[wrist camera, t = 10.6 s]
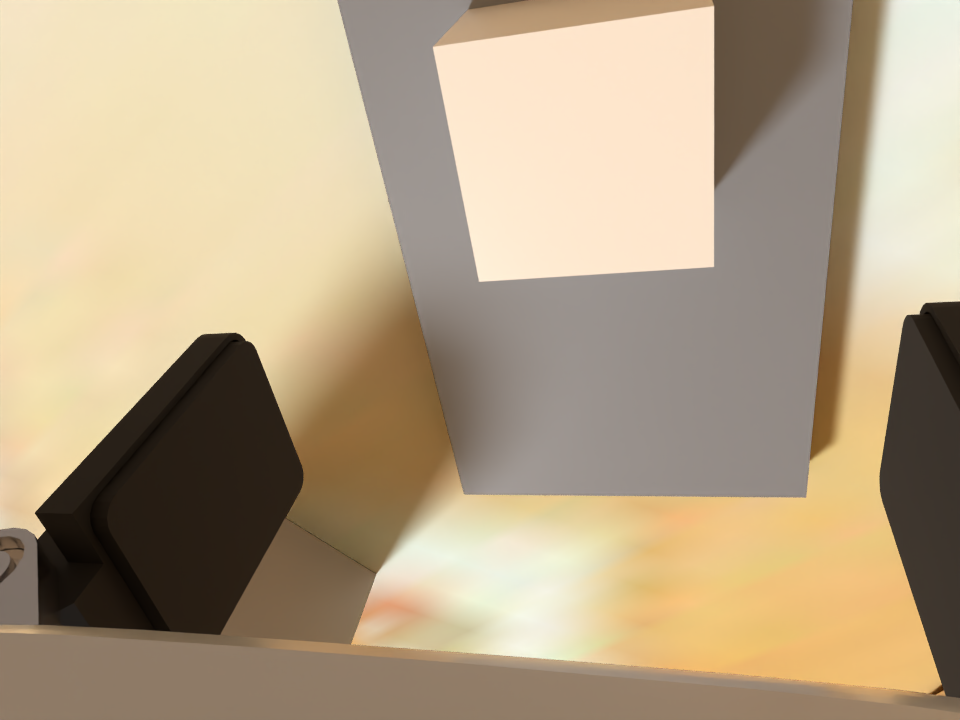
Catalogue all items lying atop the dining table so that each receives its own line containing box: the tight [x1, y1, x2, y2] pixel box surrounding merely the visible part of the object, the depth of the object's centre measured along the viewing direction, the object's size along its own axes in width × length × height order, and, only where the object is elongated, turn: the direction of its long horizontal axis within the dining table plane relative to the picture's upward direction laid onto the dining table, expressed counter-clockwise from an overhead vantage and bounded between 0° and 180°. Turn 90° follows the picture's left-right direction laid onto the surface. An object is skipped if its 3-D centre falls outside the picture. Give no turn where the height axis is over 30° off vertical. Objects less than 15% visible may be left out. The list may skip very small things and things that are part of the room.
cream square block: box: [433, 0, 714, 282], centre depth 19 cm, size 6×6×4 cm
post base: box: [338, 0, 853, 497], centre depth 23 cm, size 13×20×4 cm, turn 10°
